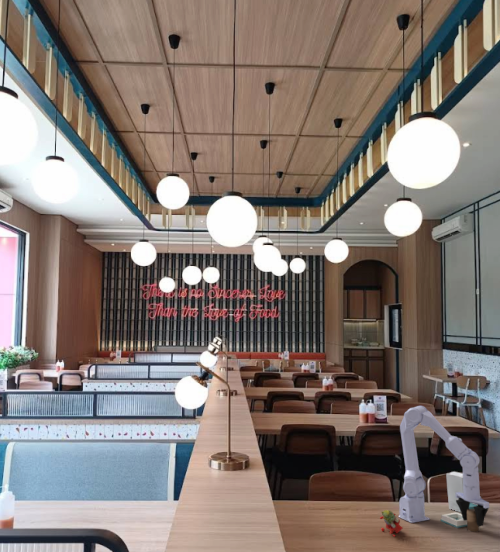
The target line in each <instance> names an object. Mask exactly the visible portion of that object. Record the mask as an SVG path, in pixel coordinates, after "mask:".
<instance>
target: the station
mask: <svg viewBox="0 0 500 552" xmlns="http://www.w3.org/2000/svg"><path fill="white" fill-rule="evenodd" d="M474 506H478V505H476V504H474V503H470V505H469V509H474V508H473V507H474ZM440 522H442V523H445V524H447V525H449V526H452V527H454V528H456V529H459V528H465V527H467V520H463V517H462V514H461V512H458V511H455V512H451V513H445V514H441V519H440Z"/></svg>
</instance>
